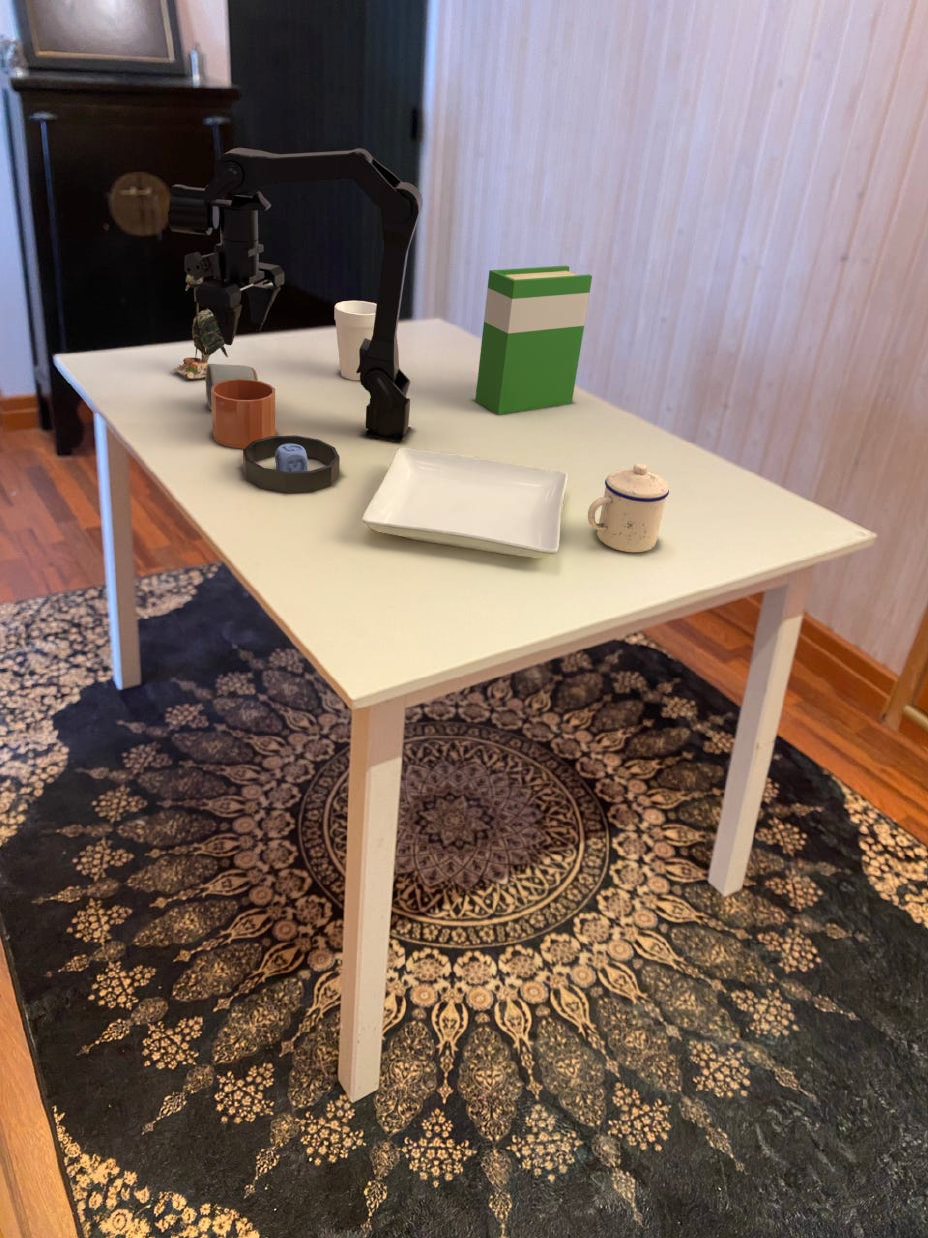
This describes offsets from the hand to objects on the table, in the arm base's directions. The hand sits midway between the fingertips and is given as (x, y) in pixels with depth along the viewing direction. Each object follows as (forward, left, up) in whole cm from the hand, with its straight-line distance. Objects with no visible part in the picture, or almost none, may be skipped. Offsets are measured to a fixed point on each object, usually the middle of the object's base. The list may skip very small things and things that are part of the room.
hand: (242, 337), depth 165 cm
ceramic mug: (+5, -4, -14) cm, 15 cm away
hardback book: (-43, -31, -14) cm, 55 cm away
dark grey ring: (-15, +18, -14) cm, 27 cm away
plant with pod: (+16, -17, -14) cm, 27 cm away
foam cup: (-10, -30, -14) cm, 35 cm away
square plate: (-44, +21, -14) cm, 51 cm away
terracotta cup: (-3, +8, -14) cm, 16 cm away
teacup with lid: (-66, +20, -14) cm, 71 cm away
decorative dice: (-15, +18, -14) cm, 27 cm away
